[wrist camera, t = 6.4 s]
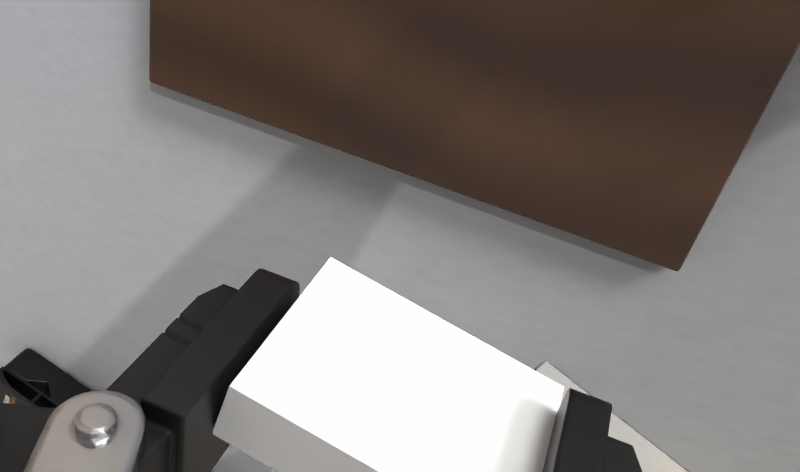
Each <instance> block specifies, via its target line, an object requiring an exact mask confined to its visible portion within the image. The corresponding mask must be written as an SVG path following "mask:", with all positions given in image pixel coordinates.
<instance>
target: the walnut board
mask: <svg viewBox="0 0 800 472" xmlns="http://www.w3.org/2000/svg"><path fill="white" fill-rule="evenodd" d="M799 44H800V0H150V82H152V83H155V84H157V85H160V86H163V87H166V88H168V89H171V90H174V91H177V92H180V93H182V94H185V95H188V96H191V97H193V98H196V99H199V100H202V101H205V102H207V103H210V104H213V105H216V106H218V107H221V108H224V109H227V110H230V111H232V112H235V113H238V114H241V115H243V116H246V117H249V118H252V119H255V120H257V121H260V122H263V123H266V124H269V125H271V126H274V127H277V128H280V129H282V130H285V131H288V132H291V133H294V134H296V135H299V136H302V137H305V138H307V139H310V140H313V141H316V142H319V143H321V144H324V145H327V146H330V147H332V148H335V149H338V150H341V151H344V152H346V153H349V154H352V155H355V156H357V157H360V158H363V159H366V160H369V161H371V162H374V163H377V164H380V165H383V166H385V167H388V168H391V169H394V170H396V171H399V172H402V173H405V174H408V175H410V176H413V177H416V178H419V179H421V180H424V181H427V182H430V183H433V184H435V185H438V186H441V187H444V188H446V189H449V190H452V191H455V192H458V193H460V194H463V195H466V196H469V197H472V198H474V199H477V200H480V201H483V202H485V203H488V204H491V205H494V206H497V207H499V208H502V209H505V210H508V211H510V212H513V213H516V214H519V215H522V216H524V217H527V218H530V219H533V220H535V221H538V222H541V223H544V224H547V225H549V226H552V227H555V228H558V229H560V230H563V231H566V232H569V233H572V234H574V235H577V236H580V237H583V238H586V239H588V240H591V241H594V242H597V243H599V244H602V245H605V246H608V247H611V248H613V249H616V250H619V251H622V252H624V253H627V254H630V255H633V256H636V257H638V258H641V259H644V260H647V261H649V262H652V263H655V264H658V265H661V266H663V267H666V268H669V269H672V270H674V271H679V270H680V268H681V267H682V265H683V263H684V261H685V259H686V257H687V255H688V253H689V251H690V250H691V248H692V246H693V244H694V242H695V240H696V238H697V236H698V234H699V233H700V231H701V229H702V227H703V225H704V223H705V221H706V219H707V217H708V216H709V214H710V212H711V210H712V208H713V206H714V204H715V202H716V200H717V199H718V197H719V195H720V193H721V191H722V189H723V187H724V185H725V184H726V182H727V180H728V178H729V176H730V174H731V172H732V170H733V168H734V167H735V165H736V163H737V161H738V159H739V157H740V155H741V153H742V151H743V150H744V148H745V146H746V144H747V142H748V140H749V138H750V136H751V134H752V133H753V131H754V129H755V127H756V125H757V123H758V121H759V119H760V117H761V116H762V114H763V112H764V110H765V108H766V106H767V104H768V102H769V100H770V99H771V97H772V95H773V93H774V91H775V89H776V87H777V85H778V83H779V82H780V80H781V78H782V76H783V74H784V72H785V70H786V68H787V66H788V65H789V63H790V61H791V59H792V57H793V55H794V53H795V51H796V49H797V48H798V46H799Z"/></svg>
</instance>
